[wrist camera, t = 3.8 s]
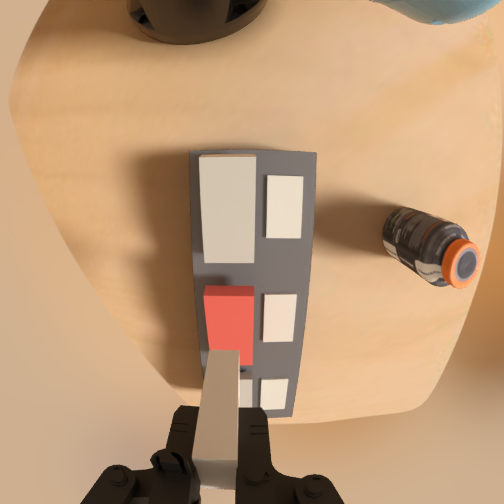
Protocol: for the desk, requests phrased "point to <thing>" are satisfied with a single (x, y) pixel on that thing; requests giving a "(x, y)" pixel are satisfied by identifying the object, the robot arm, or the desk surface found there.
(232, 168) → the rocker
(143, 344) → the desk surface
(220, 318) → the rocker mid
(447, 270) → the pill bottle
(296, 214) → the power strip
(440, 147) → the desk surface
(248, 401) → the block
